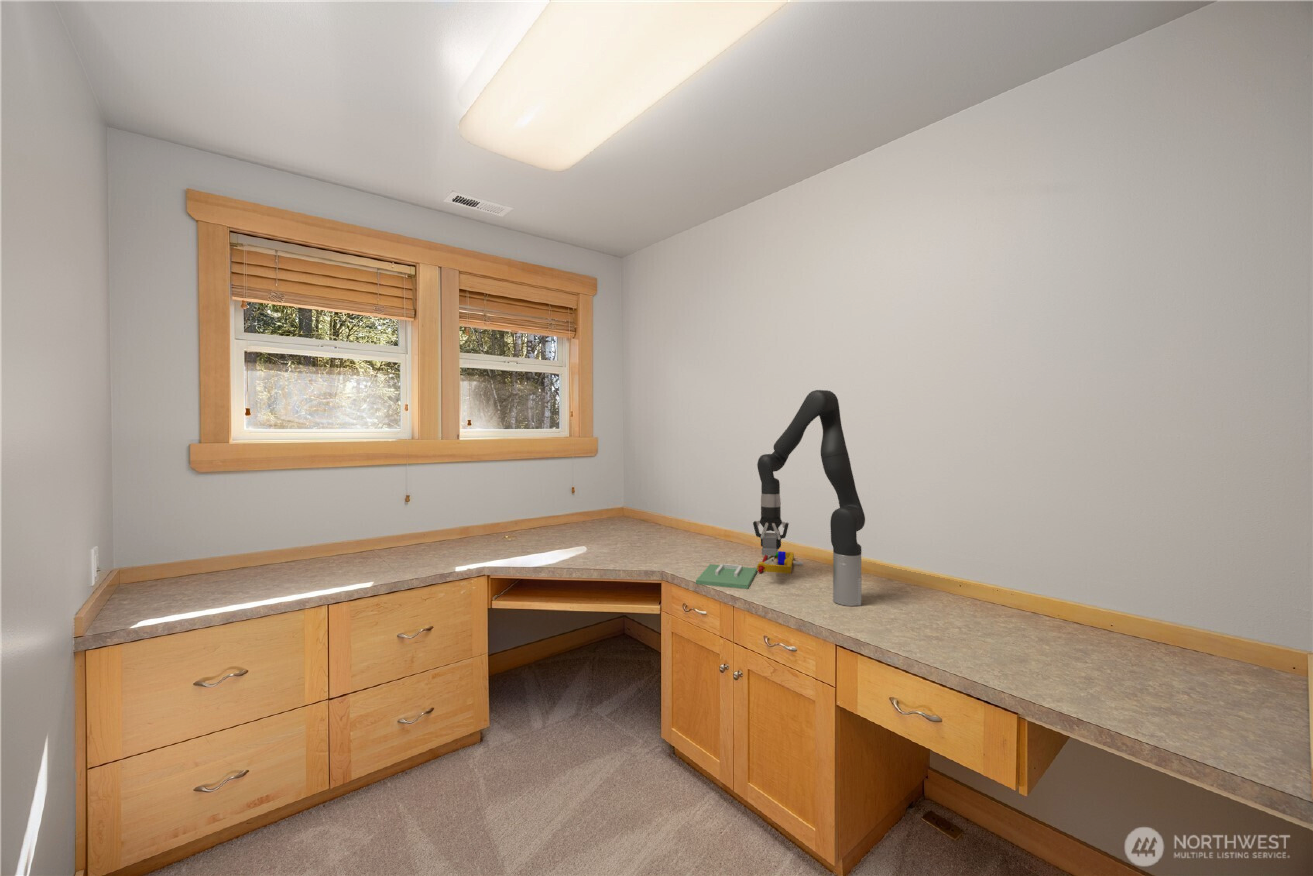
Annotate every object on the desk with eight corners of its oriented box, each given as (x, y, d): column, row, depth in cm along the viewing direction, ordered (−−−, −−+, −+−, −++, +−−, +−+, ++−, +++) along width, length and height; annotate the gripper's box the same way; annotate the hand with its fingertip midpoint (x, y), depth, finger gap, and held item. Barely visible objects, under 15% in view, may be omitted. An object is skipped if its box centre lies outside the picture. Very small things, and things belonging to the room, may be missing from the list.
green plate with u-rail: (756, 571, 221) (757, 564, 221) (747, 589, 199) (747, 581, 199) (710, 567, 228) (710, 560, 228) (695, 583, 205) (695, 576, 205)
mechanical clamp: (755, 559, 219) (763, 543, 247) (755, 574, 219) (763, 557, 248) (801, 563, 213) (804, 546, 242) (801, 578, 213) (804, 560, 242)
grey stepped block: (766, 547, 213) (766, 532, 213) (778, 548, 211) (778, 533, 211) (761, 554, 201) (761, 539, 200) (775, 555, 199) (775, 539, 199)
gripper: (750, 505, 206) (751, 549, 206) (788, 507, 201) (788, 551, 201) (753, 502, 213) (754, 545, 213) (790, 504, 208) (790, 547, 208)
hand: (771, 548), depth 207 cm, fingers closed on grey stepped block, 5 cm apart
